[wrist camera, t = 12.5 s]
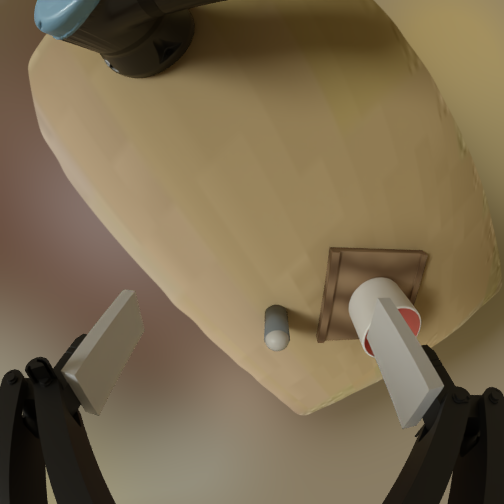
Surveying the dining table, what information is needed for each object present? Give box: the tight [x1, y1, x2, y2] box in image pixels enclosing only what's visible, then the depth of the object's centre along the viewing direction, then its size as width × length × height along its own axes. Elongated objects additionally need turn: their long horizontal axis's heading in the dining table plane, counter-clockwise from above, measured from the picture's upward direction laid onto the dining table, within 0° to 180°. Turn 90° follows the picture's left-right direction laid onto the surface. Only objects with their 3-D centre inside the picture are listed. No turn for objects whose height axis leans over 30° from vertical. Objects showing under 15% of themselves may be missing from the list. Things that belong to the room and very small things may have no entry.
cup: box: [349, 277, 421, 358], centre depth 40 cm, size 10×10×10 cm
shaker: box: [264, 305, 290, 351], centre depth 44 cm, size 4×4×9 cm
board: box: [316, 247, 428, 343], centre depth 45 cm, size 18×18×2 cm
